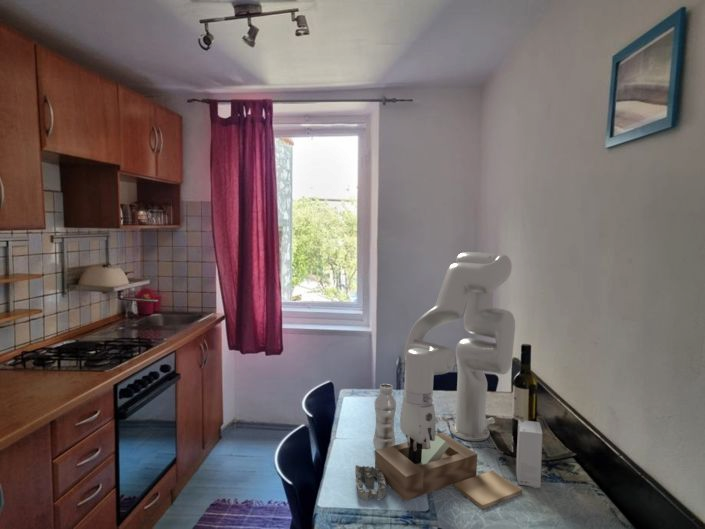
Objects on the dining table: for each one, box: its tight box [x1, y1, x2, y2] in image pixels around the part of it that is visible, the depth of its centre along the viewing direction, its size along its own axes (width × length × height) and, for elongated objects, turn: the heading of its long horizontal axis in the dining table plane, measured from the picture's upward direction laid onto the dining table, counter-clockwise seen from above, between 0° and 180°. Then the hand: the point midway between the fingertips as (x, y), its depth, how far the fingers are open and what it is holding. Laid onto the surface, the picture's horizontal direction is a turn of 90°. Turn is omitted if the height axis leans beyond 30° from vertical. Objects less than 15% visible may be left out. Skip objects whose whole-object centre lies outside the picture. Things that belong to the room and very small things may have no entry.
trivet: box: [453, 470, 523, 510], centre depth 114 cm, size 14×10×1 cm
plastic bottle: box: [372, 383, 397, 450], centre depth 132 cm, size 6×7×20 cm
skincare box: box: [515, 419, 543, 489], centre depth 119 cm, size 8×6×15 cm
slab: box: [415, 435, 449, 466], centre depth 120 cm, size 12×5×2 cm
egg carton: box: [354, 465, 387, 501], centre depth 114 cm, size 11×8×4 cm
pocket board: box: [374, 432, 478, 502], centre depth 120 cm, size 24×14×6 cm, turn 119°
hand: (414, 462), depth 118 cm, fingers closed
